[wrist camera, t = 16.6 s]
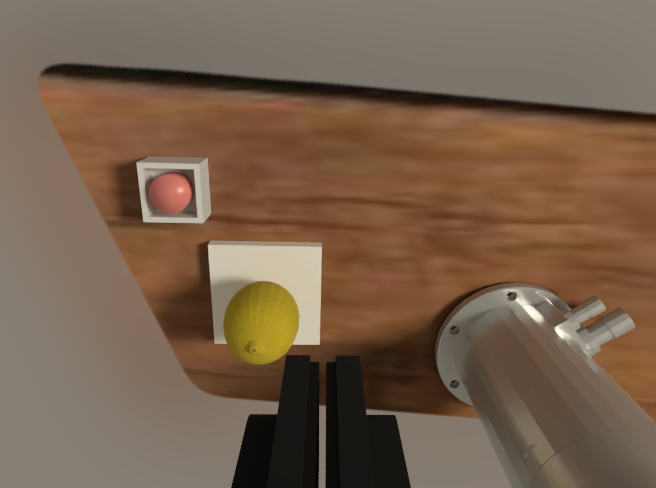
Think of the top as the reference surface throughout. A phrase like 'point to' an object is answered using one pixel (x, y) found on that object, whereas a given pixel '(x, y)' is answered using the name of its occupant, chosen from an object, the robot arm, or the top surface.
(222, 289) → the paper pad
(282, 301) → the lemon
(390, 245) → the top surface
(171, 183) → the button
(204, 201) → the button base
